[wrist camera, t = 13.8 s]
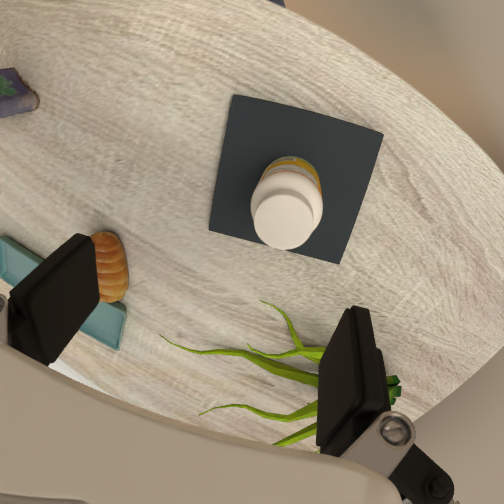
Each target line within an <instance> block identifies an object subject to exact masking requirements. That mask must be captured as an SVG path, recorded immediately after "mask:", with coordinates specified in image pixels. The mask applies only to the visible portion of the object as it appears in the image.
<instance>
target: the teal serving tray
mask: <svg viewBox="0 0 504 504" xmlns="http://www.w3.org/2000/svg"><path fill="white" fill-rule="evenodd" d="M43 261H44V260H43V259H42V258H40V257H38V256H37V255H35V254H33V253H32V252H30V251H29V250H27V249H25V248H24V247H22V246H21V245H19V244H18V243H16V242H15V241H13V240H11V239H10V238H8V237H6V236H0V278H1V279H3V280H4V281H5V282H7V283H8V284H10V285H11V286H12V287H15V286H16V285H17V284H18V283H19V282H20V281H22V280H23V279H24V278H25V277H26V276H27V275H28V274H29V273H30V272H31V271H32V270H34V269H35V268H36V267H37V266H38V265H39V264H40V263H41V262H43ZM125 318H126V308H125V306H124V305H122V304H121V303H119V302H117V301H115V302H111V303H107V302H99V303H98V305H97V307H96V308H95V309H94V311H93V312H92V313H91V314H90V316H89V317H88V318H87V319H86V321H85V322H84V323H83V325H82V326H81V327H80V328H79V330H80V331H82V332H83V333H85V334H87V335H89V336H90V337H92V338H94V339H96V340H97V341H99V342H101V343H103V344H105V345H107V346H108V347H110V348H112V349H114V350H116V351H119V350H120V343H121V337H122V332H123V327H124V322H125Z"/></svg>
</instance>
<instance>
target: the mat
mask: <svg viewBox="0 0 504 504" xmlns="http://www.w3.org/2000/svg"><path fill="white" fill-rule="evenodd" d="M383 136H384V134H382V133H380V132H377V131H374V130H371V129H368V128H365V127H362V126H359V125H356V124H353V123H350V122H346V121H343V120H340V119H336V118H333V117H330V116H326V115H323V114H319V113H315V112H312V111H308V110H304V109H300V108H296V107H292V106H288V105H284V104H280V103H275V102H271V101H266V100H262V99H257V98H252V97H247V96H242V95H236V94H234V95H233V98H232V103H231V108H230V113H229V118H228V123H227V128H226V133H225V138H224V143H223V149H222V154H221V160H220V165H219V171H218V176H217V182H216V188H215V194H214V199H213V205H212V211H211V218H210V224H209V230H210V231H214V232H218V233H222V234H225V235H229V236H233V237H237V238H241V239H245V240H248V241H252V242H256V243H260V244H264V245H267V244H266V243H264V242H263V241H262V240H261V239H260V238H259V236H258V234H257V233H256V230H255V227H254V220H253V217H252V214H251V199H252V196H253V193H254V191H255V189H256V187H257V185H258V183H259V181H260V179H261V177H262V175H263V173H264V171H265V170H266V168H267V167H268V166H269V165H270V164H271V163H272V162H273V161H275V160H277V159H279V158H281V157H286V156H294V157H299V158H302V159H304V160H306V161H307V162H308V163H310V164H311V165H312V166H313V167H314V169H315V170H316V172H317V174H318V177H319V180H320V187H321V194H322V202H323V212H322V217H321V220H320V222H319V224H318V226H317V227H316V228H315V230H314V231H313V232H312V233H311V235H310V237H309V238H308V239H307V240H306V241H305V242H304V243H303V244H302V245H300V246H298V247H296V248H293V249H288V250H286V251H290V252H294V253H298V254H301V255H305V256H309V257H313V258H316V259H320V260H324V261H328V262H331V263H335V264H340V261H341V258H342V256H343V253H344V251H345V248H346V245H347V243H348V240H349V237H350V235H351V232H352V229H353V227H354V224H355V221H356V218H357V216H358V213H359V210H360V207H361V204H362V201H363V198H364V195H365V193H366V190H367V187H368V184H369V181H370V178H371V174H372V171H373V168H374V165H375V162H376V159H377V156H378V152H379V149H380V146H381V143H382V139H383ZM267 246H269V245H267Z"/></svg>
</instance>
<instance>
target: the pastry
mask: <svg viewBox="0 0 504 504" xmlns="http://www.w3.org/2000/svg"><path fill="white" fill-rule="evenodd" d="M91 239H92V241H93V242H94V244H95V253H96V265H97V275H98V285H99V293H100V300H99V302H107V303H111V302H115V301H118V300H121V299H122V298H123V297H124V295H125V292H126V290H127V288H128V281H129V274H128V268H127V261H126V256H125V252H124V249H123V246H122V244H121V242H120V240H119V238H118V237H117V236H116V235H115V234H113V233H110V232H108V231H102V232H97V233H95V234H93V235H91Z"/></svg>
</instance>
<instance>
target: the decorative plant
mask: <svg viewBox="0 0 504 504" xmlns="http://www.w3.org/2000/svg"><path fill="white" fill-rule="evenodd" d="M260 301H261V300H260ZM261 302H263V301H261ZM263 303H266V302H263ZM266 304H268V303H266ZM268 305H271V304H268ZM271 306H273V305H271ZM273 307H274V308H275V309H276V310H278V311H279V312H280V313H281V314H283V316H284V317H285V319H286V321H287V323H288V326H289V330H290V333H291V337H292V339H293V341H294V343H295V345H296V348H297V349H294V350H291V351H288V352H285V353H281V354H265V353H263V352H260V351H257V350H255V349H252V348H251V347H250V346H249V344H248V343H247V345H248V347H249V348H250V350H252V351H254V352H256V353H258V354H260V355H262V356H264V357H268V358H275V359H280V358H285V357H291V356H296V355H302V356H304V357H306V358H308V359H309V360H311V361H313V362H315V363H317V364H319V363H320V359H321V357H322V355H323V353H324V351H325V349H326V348H325V347H304V346H303V344H302V343H301V341H300V339H299V338H298V336H297V335H296V333H295V330H294V328H293V326H292V323H291V321H290V319H289V318H288V317H287V315H286V314H285V313H284V312H282V311H281V310H279V309H278V308H276V307H275V306H273ZM159 335H160V334H159ZM160 336H161V335H160ZM161 337H163V336H161ZM163 338H164V337H163ZM164 339H165V338H164ZM165 340H167V339H165ZM167 341H168V340H167ZM168 342H169V343H171V342H170V341H168ZM171 344H173V345H176V344H174V343H171ZM176 346H178V347H180V348H182V349H185V350H187V351H190V352H194V353H197V354H223V355H232V356H242V357H245V358H246V359H248V360H250V361H252V362H253V363H255V364H257V365H258V366H260V367H262V368H264V369H265V370H267V371H269V372H271V373H273V374H275V375H278V376H281V377H285V378H288V379H291V380H295V381H298V382H301V383H305V384H308V385H311V386H314V387H317V388H318V374H314V373H309V372H306V371H303V370H300V369H297V368H294V367H291V366H287V365H284V364H282V363H279V362H276V361H273V360H270V359H267V358H264V357H261V356H258V355H255V354H252V353H250V352H247V351H244V350H229V349H215V350H207V351H197V350H191V349H188V348H185V347H182V346H179V345H176ZM386 379H387V385H388V391H389V398H390V405H394V403H395V401H396V398H394V397H400V396H401V386H397V385H398V384H399V383H400V380H399V379H398V377H397V376H396V375H394V376H387V377H386ZM307 404H309V403H307ZM233 406H234V407H240V408H246V409H248V410H250V411H252V412H254V413H256V414H258V415H260V416H261V417H263V418H267V419H272V420H277V421H283V422H290V421H295V420H300V419H304V418H308V417H312V416H316V415H317V408H318V400H316V401H314V402H312V403H311V404H309V405H307V406H305V407H303V408H301V409H299V410H297V411H295V412H294V413H292V414H290V415H281V414H275V413H268V412H264V411H261V410H259V409H256V408H254V407H251V406H248V405H241V404H230V405H225V406H220V407H215V408H212V409H210V410H208V411H211V410H213V409H216V408H225V407H233ZM208 411H206V412H208ZM206 412H203V413H201V414H199V415H202V414H204V413H206ZM316 430H317V422H315V423H313V424H311V425H310V426H308V427H306V428H304V429H302V430H300V431H298V432H296V433H294V434H292V435H290V436H288V437H286V438H284V439H282V440H280V441H278V442H276V443H274V444H272V445H276V446H282V447H283V446H286V445H289V444H292V443H295V442H297V441H300V440H302V439H305V438H307V437H310V436H312V435H314V434H316ZM317 452H320V450H319V451H317ZM317 452H315V453H317Z"/></svg>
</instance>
